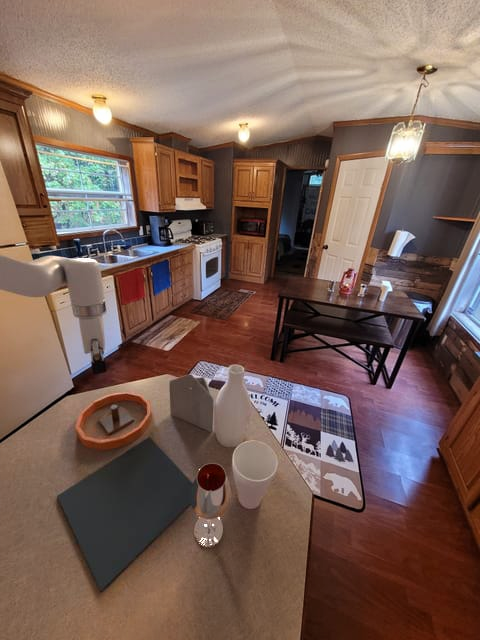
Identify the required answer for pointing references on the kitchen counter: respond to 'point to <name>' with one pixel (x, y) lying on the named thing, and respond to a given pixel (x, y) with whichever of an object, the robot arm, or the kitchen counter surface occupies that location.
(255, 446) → the cup
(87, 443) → the hoop
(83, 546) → the mat
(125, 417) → the peg
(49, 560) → the kitchen counter surface
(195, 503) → the wineglass
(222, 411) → the bottle
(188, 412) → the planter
